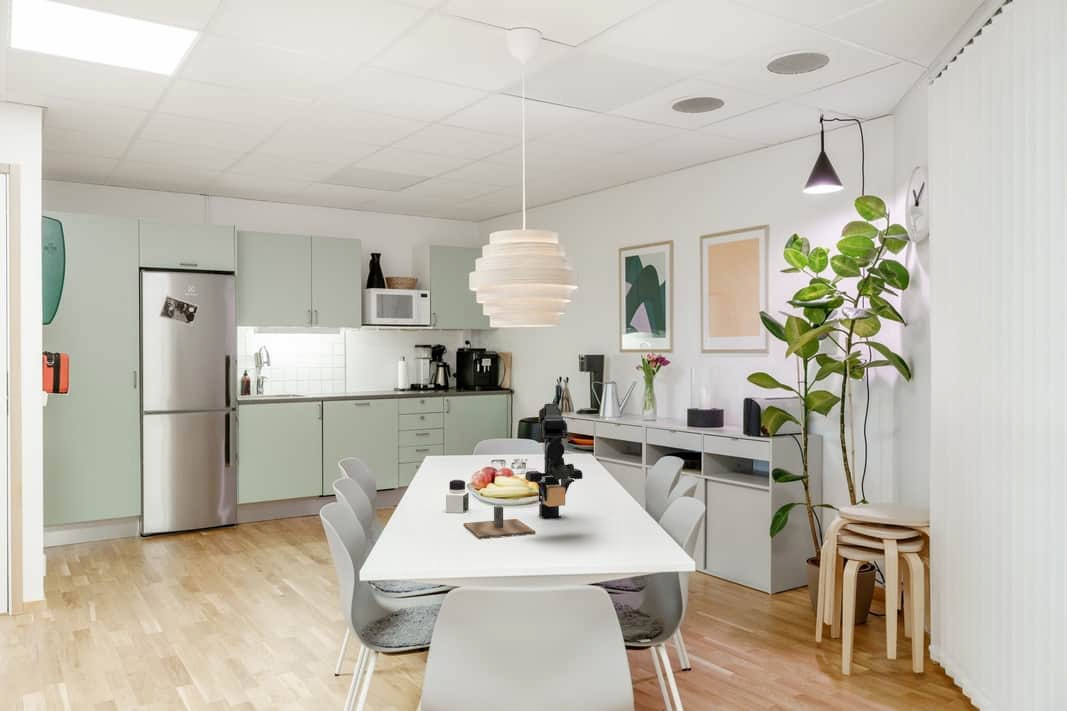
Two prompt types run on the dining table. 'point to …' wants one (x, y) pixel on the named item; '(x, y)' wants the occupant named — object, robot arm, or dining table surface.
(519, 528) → the wooden base with peg
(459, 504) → the medicine bottle
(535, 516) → the dining table surface
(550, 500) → the peach wooden cube
